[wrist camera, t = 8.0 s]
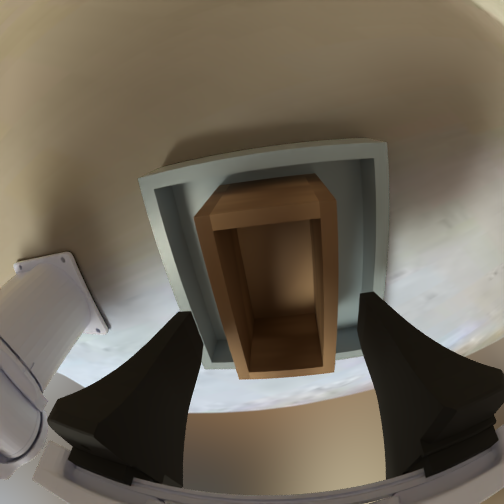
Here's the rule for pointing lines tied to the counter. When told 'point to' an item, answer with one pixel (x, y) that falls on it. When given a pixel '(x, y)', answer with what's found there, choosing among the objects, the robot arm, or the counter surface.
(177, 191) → the grey crate
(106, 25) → the counter surface
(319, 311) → the walnut crate
